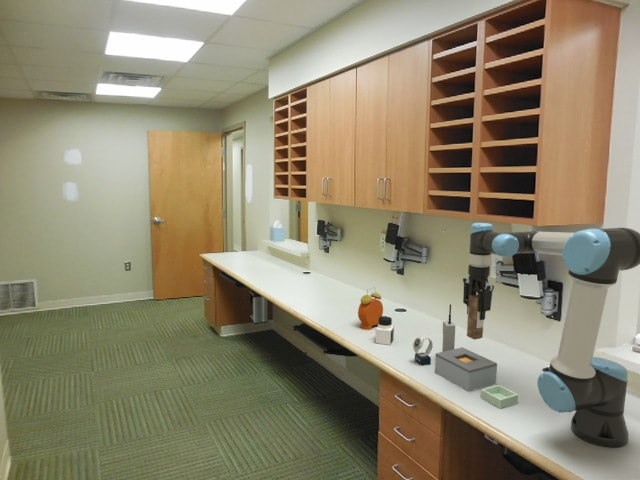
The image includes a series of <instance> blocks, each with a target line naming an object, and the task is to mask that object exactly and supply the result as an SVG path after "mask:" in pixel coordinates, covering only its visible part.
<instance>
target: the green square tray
mask: <svg viewBox="0 0 640 480" xmlns="http://www.w3.org/2000/svg"><path fill="white" fill-rule="evenodd" d="M480 399H482V400H483V401H486V402H487V403H489V404H491V405H493V406H494V407H496V408H498V409H503V408H506V407H510V406H513V405H516V404H518V402H519V394H518V393H516V392H514V391H512V390H510V389H508V388H506V387H504V386H502V385H501V384H496V385H495V384H494V385H493V386H492V385H491V386H488V387H485V388H481V390H480Z"/></svg>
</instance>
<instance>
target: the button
mask: <svg viewBox="0 0 640 480" xmlns="http://www.w3.org/2000/svg"><path fill="white" fill-rule="evenodd" d="M459 360H461V361H463V362H465V363H467V362H471V361H472V360H470V359H468V358H466V357H464V358H460V359H459Z"/></svg>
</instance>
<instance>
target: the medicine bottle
mask: <svg viewBox="0 0 640 480" xmlns="http://www.w3.org/2000/svg"><path fill="white" fill-rule="evenodd" d="M392 320H393V319H392V317H391V316H390V315H389V316H388V315H382V316H381V317H379V324H378V326H376V328H375V344H379V345H388V346H391V345H392V343H393V341H394V337H395V336H394V335H395V333H394V332H395V331H394V330H395V326H394V325H393V324H392V322H393V321H392Z"/></svg>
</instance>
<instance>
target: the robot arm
mask: <svg viewBox="0 0 640 480" xmlns="http://www.w3.org/2000/svg"><path fill="white" fill-rule="evenodd" d="M470 228H471V229H470V233H469V239H470V240H469V255H468V256H469V257H468V264H469V265H468V270H467V273H468V275H469V276H468V277H465V278H464V277H463V278H462V281H463V294H462V295H463V298H462V299H463V300H462V302H463V304H464V305H466V315H468V310H469V295H476V294H478V298H479V310H478V312H477V327H476V328H482V327H483V328H484V324H485V323H484V322H485V321H484V320H485V319H486V312H489V311H491V307H492V301H493V300H492V299H493V291H494V289H495V285H493V284H492V285H491V284H490V283H489V280H488V279H489V277H490V273H491V268H490V267H491V266H490V265H491V259H492V258H491V256H492V254H494V255H497V256H500V257H506V258H509V257H512V256H514V255H516V254H545V255H552V256H553V255H554V256H561V257H562V260H563V261H564V266H565V267H566V269H567V270H568V272H567V273H568V276H569V277H570V278H571V280H572V283H571V289H570V293H569V298H568V304H567V309H566V312H565V319H564V323H563V329H562V333H561V337H560V338H561V339H560V343H559V348H558V353H557V355H556V356H554V357H552V358H551V359H550V363H549V368H548V371H543V372H542V373H541V374H539V375H538V378H537V389H538V393H539V395H540V397H541V399H542V401H543V402H544V403H545V404H546V406H547V407H548V408H549V409H551V410H553V411H554V412H556V413H561V414H563V413H572V412H573V413H574V414H573V416H572V417H571V421H570V429H571V431H572V432H573V434H575V435H576V437H578V438H580V439H581V440H583V441H585V442H588V443H591V444H594V445H596V446H601V447H606V448H620V447H624V446H626V445H627V444H628V442H629V431H628V428H627V423H626V419H625V415H624V413H625V412H624V411H625V403H626V395H627V388H628V386H627V385H628V383H629V380H628V374H629V373H628V370H627V369H626V367H625V366H623V365H622V364H620V363H618V362H616V361H613V360H610V359H607V358H602V357H598V356H594V353H595V349H596V344H597V339H598V336H599V331H600V327H601V322H602V318H603V313H604V309H605V304H606V301H607V295H608V291H609V288H610V287H612V286H614V285H616V284H617V282H618V278H619V273H620V271H628V270H633V269H634V268H636V267H638V266H639V265H640V232H638V231H636V230H635V229H632V228H628V227H613V228H612V227H611V228H595V227H594V228H587V229H582V230H579V231H575V232H564V231H563V232H562V231H560V232H559V231H556V232H555V231H541V230H531V231H530V230H529V231H514V232H498V231H494V226H493V224H492V223H487V222H486V223H485V222H474V223H472V224H471V227H470ZM466 323H467V324H466V325H468V318H467V321H466Z"/></svg>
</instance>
